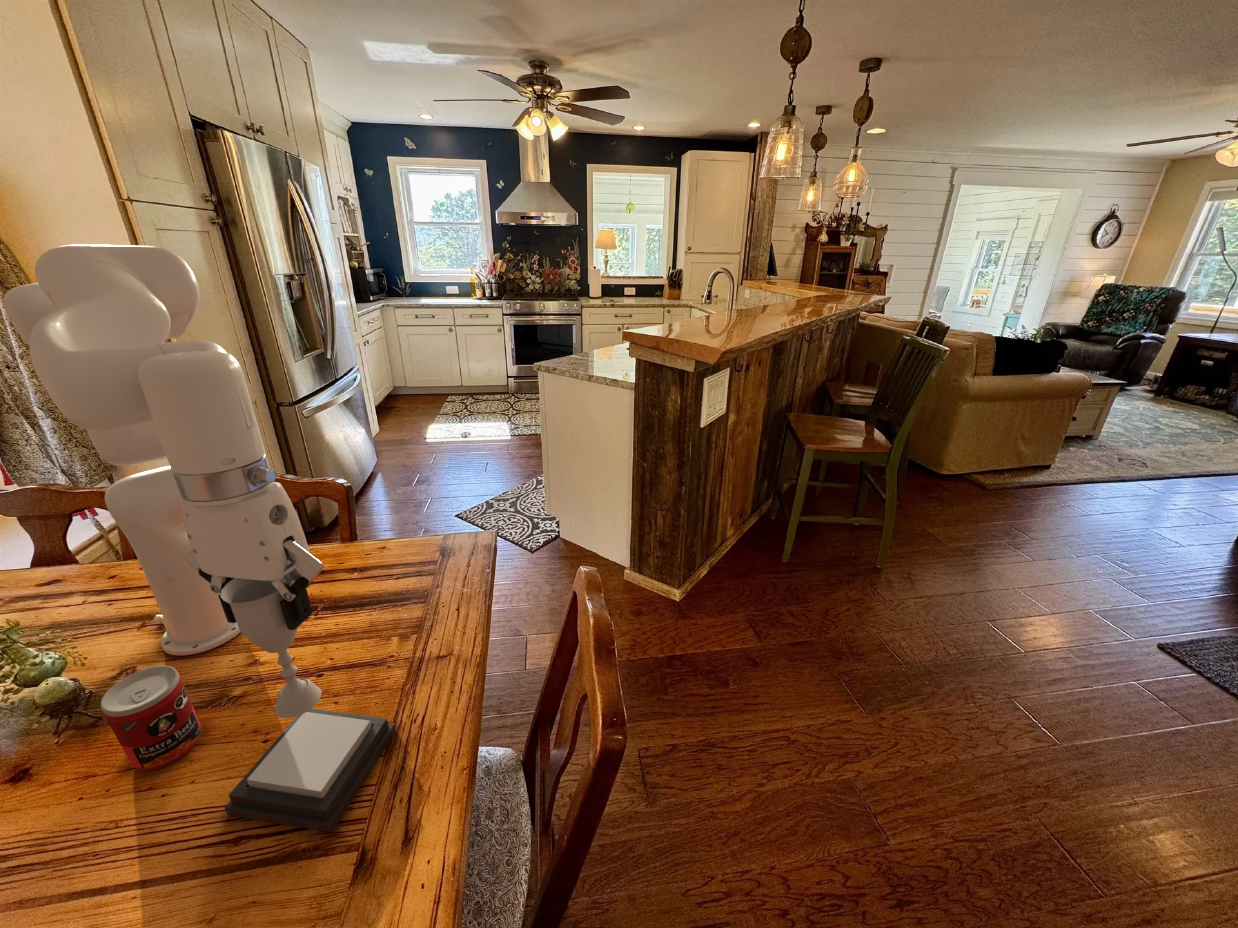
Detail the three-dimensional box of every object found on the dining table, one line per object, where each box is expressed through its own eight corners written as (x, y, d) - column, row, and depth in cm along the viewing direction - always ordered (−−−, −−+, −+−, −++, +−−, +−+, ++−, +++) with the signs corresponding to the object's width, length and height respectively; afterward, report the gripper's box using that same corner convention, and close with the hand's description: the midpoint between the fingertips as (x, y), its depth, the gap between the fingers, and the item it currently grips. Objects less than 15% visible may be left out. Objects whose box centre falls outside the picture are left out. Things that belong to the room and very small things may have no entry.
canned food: (144, 783, 64) (111, 723, 60) (122, 753, 68) (90, 693, 64) (213, 739, 70) (188, 681, 66) (189, 713, 74) (164, 656, 70)
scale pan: (249, 787, 61) (246, 779, 61) (307, 719, 70) (304, 711, 70) (323, 799, 60) (320, 791, 59) (372, 728, 69) (370, 720, 69)
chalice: (298, 731, 58) (257, 607, 51) (250, 720, 59) (203, 598, 52) (343, 682, 64) (311, 567, 57) (298, 674, 66) (262, 560, 59)
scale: (227, 814, 61) (220, 798, 59) (308, 718, 73) (303, 703, 72) (331, 832, 59) (326, 816, 58) (396, 730, 72) (392, 715, 70)
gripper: (329, 468, 52) (361, 604, 59) (185, 458, 54) (231, 591, 61) (275, 500, 45) (318, 650, 52) (111, 486, 47) (173, 633, 54)
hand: (271, 617), depth 57 cm, fingers closed on chalice, 6 cm apart
